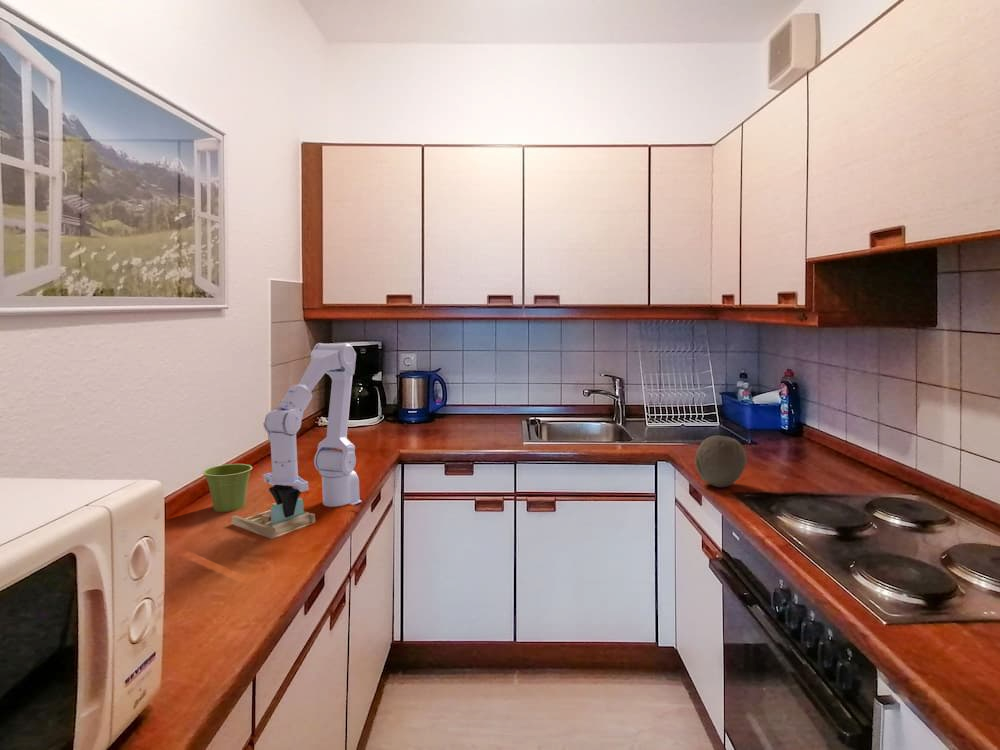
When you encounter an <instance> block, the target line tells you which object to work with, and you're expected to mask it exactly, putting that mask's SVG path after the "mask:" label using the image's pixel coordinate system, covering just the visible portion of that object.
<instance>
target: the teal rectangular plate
mask: <svg viewBox="0 0 1000 750" xmlns="http://www.w3.org/2000/svg"><path fill="white" fill-rule="evenodd" d="M270 510H271V525H275V524H277V523H280V522H283V521H286V520H289V519H292V518H294V517H297V516H300V515H303V514H304V499H303V498H302V497H298V500H297V503H296V507H295V512H294V515H293V516H290V517H285V515H284V511H283V504H278V505H275V506H272V505H271V506H270Z"/></svg>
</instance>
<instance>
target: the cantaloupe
mask: <svg viewBox="0 0 1000 750" xmlns="http://www.w3.org/2000/svg"><path fill="white" fill-rule="evenodd" d="M694 461H695V463H694V465H695V468H696V472H697V473H698V475H699V476H700V478H701V480H702V481H704V482H705V483H707V484H709V485H710V486H712V487H715V488H725V487H728V486H731V485H732V484H734V483H735V482H736V481H737V480H738V479H739V478H740V477H741V475H742V473H743V471H744V470H745V468H746V464H747V452H746V450H745V448H744V447H743V445H742V443H741V442H740V441H738V439H736V438H733V437H730V436H727V435H712V436H708V437H706V438H704V440H703V441H702V442H701V443H700V445H698V448H697V450H696V453H695V458H694Z"/></svg>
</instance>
